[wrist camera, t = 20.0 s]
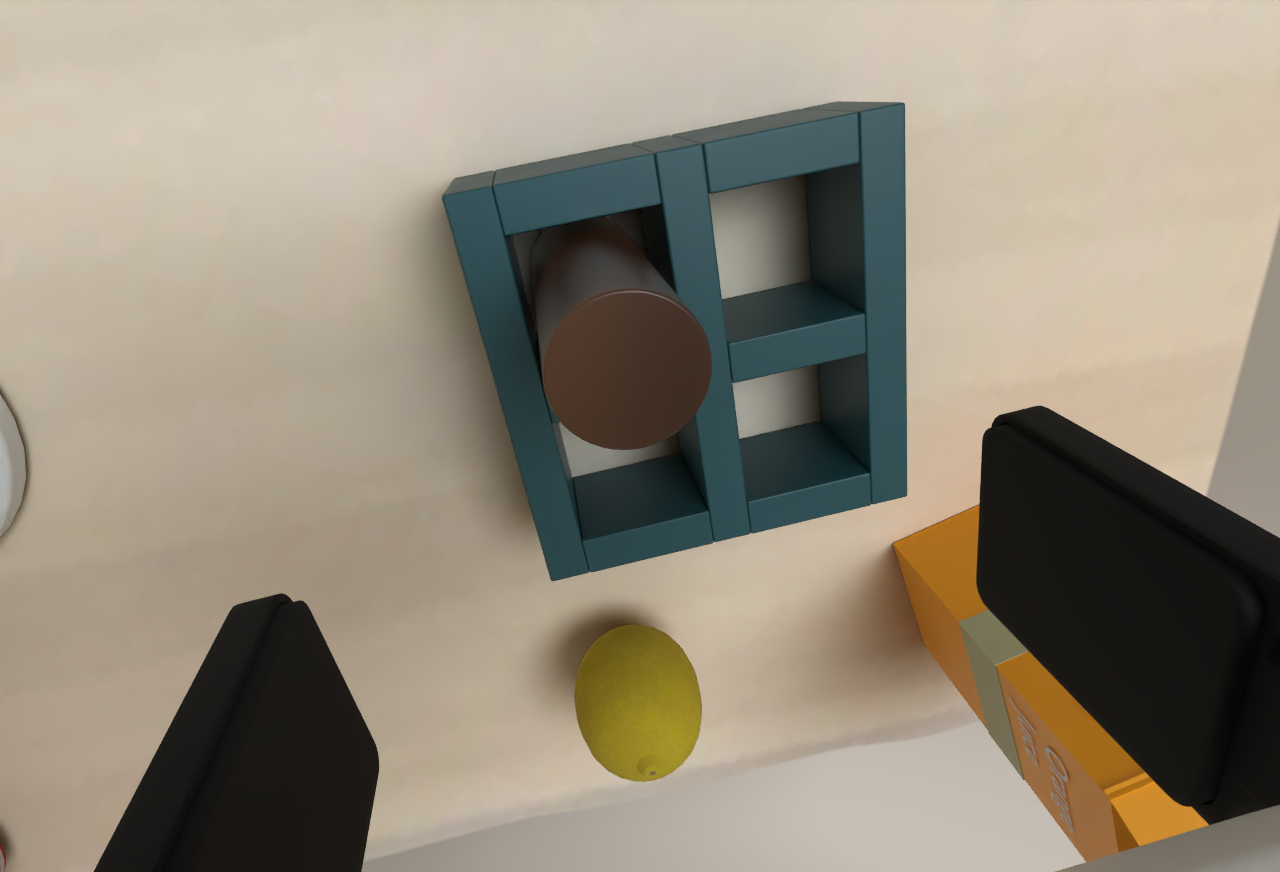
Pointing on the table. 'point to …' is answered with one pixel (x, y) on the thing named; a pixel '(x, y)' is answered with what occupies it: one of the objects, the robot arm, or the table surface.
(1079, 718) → the orange juice
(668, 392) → the peg
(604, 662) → the lemon
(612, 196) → the teal square grid frame
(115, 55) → the table surface
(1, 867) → the soda can
